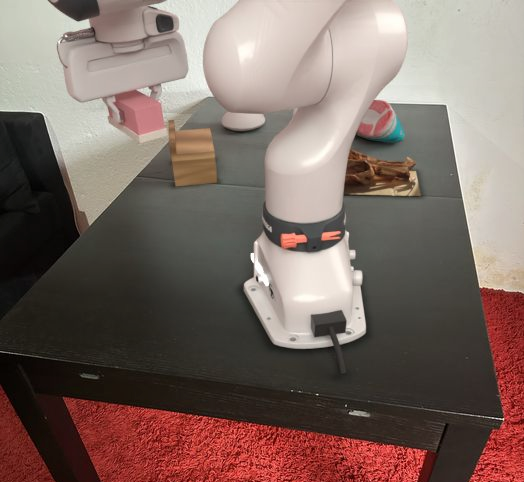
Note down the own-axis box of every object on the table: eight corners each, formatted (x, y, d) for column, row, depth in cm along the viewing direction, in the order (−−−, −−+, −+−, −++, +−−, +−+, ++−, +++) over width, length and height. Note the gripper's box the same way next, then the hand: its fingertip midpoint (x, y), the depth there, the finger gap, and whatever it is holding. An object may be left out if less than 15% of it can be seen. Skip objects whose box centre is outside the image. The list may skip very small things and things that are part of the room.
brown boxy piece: (217, 182, 113) (213, 139, 107) (175, 186, 113) (169, 142, 106) (212, 158, 123) (209, 116, 116) (174, 161, 122) (168, 120, 116)
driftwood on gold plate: (288, 138, 114) (420, 139, 112) (288, 168, 119) (415, 169, 116) (284, 162, 104) (429, 164, 101) (284, 194, 108) (423, 196, 106)
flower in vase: (265, 134, 132) (262, 20, 115) (220, 136, 133) (211, 21, 116) (265, 116, 142) (263, 8, 125) (223, 117, 142) (215, 9, 125)
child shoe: (167, 135, 88) (163, 103, 84) (140, 143, 86) (134, 110, 82) (135, 116, 95) (129, 85, 92) (108, 123, 93) (101, 91, 89)
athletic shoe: (403, 155, 123) (427, 105, 121) (378, 136, 118) (403, 83, 116) (336, 144, 144) (356, 101, 142) (312, 128, 139) (332, 83, 136)
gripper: (61, 38, 73) (86, 138, 82) (187, 15, 82) (197, 108, 91) (45, 30, 77) (71, 126, 86) (167, 9, 85) (179, 99, 95)
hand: (137, 117), depth 89 cm, fingers closed on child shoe, 5 cm apart
